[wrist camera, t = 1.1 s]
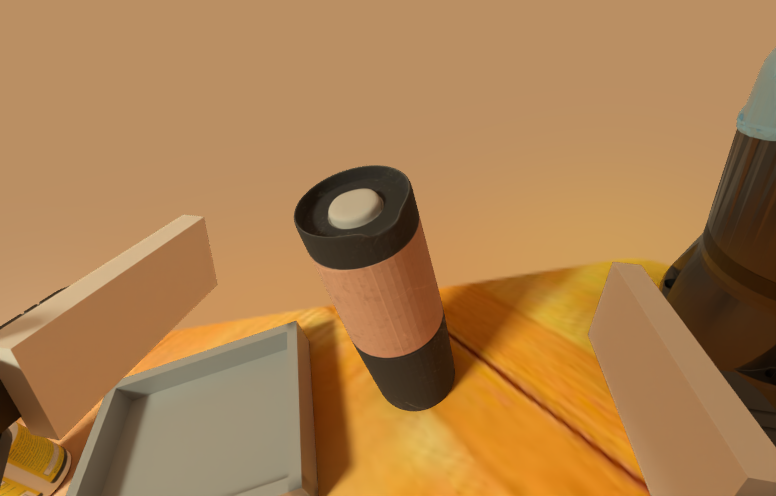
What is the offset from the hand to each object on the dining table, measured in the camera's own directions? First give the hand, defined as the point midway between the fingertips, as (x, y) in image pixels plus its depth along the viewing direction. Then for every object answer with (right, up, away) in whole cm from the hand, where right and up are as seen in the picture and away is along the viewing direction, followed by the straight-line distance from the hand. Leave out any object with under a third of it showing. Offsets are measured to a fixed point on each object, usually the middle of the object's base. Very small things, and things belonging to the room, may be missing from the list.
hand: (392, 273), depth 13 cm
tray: (-16, -17, +24) cm, 34 cm away
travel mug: (+3, -11, +24) cm, 26 cm away
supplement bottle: (-33, -21, +25) cm, 47 cm away
